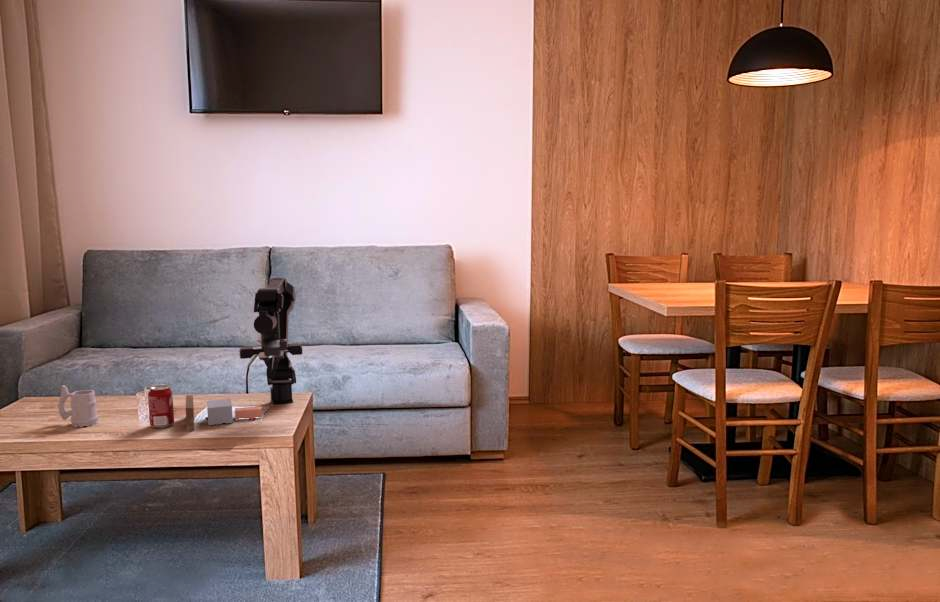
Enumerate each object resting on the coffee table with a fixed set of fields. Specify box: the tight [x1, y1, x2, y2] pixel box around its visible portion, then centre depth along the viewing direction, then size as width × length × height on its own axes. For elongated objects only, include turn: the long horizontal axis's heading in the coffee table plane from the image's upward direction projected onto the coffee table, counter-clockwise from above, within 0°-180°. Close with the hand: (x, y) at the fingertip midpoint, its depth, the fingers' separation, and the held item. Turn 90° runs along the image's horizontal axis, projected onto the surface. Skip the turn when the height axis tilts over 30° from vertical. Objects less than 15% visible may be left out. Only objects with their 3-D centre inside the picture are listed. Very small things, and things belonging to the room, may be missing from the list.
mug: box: [57, 384, 100, 428], centre depth 220 cm, size 8×12×12 cm, turn 87°
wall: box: [185, 394, 195, 432], centre depth 219 cm, size 2×16×7 cm, turn 21°
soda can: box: [147, 384, 175, 429], centre depth 217 cm, size 7×7×12 cm
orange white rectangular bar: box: [234, 405, 263, 419], centre depth 226 cm, size 8×3×3 cm, turn 106°
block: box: [206, 398, 234, 426], centre depth 223 cm, size 7×9×5 cm
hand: (272, 377), depth 227 cm, fingers closed
